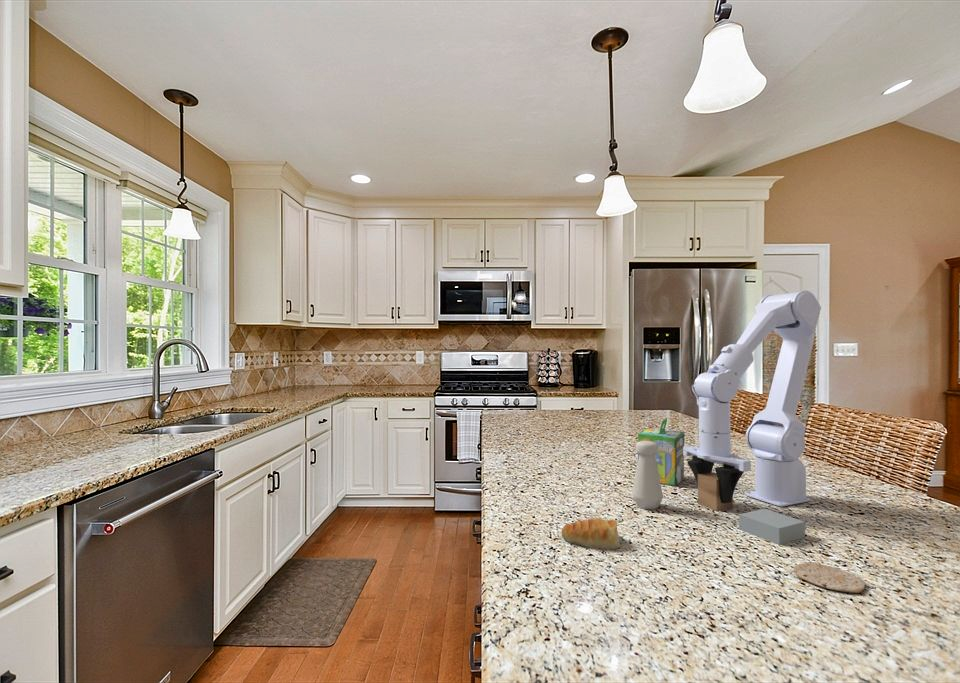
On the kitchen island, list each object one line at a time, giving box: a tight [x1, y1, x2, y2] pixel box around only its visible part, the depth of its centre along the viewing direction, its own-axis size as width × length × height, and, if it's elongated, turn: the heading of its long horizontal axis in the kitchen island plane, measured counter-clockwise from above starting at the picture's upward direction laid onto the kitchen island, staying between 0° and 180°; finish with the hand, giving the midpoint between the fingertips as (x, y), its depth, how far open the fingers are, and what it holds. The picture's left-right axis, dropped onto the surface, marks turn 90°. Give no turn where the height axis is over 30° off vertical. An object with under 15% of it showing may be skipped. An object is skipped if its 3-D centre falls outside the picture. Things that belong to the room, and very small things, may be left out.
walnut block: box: [697, 471, 734, 512], centre depth 94 cm, size 4×4×6 cm
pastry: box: [561, 517, 620, 550], centre depth 77 cm, size 9×7×4 cm
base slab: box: [738, 508, 806, 546], centre depth 80 cm, size 7×7×3 cm
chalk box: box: [637, 417, 686, 487], centre depth 113 cm, size 9×9×15 cm
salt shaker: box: [631, 441, 664, 510], centre depth 94 cm, size 6×6×13 cm
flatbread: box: [793, 561, 866, 594], centre depth 64 cm, size 8×8×1 cm
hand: (715, 498), depth 94 cm, fingers closed on walnut block, 4 cm apart
